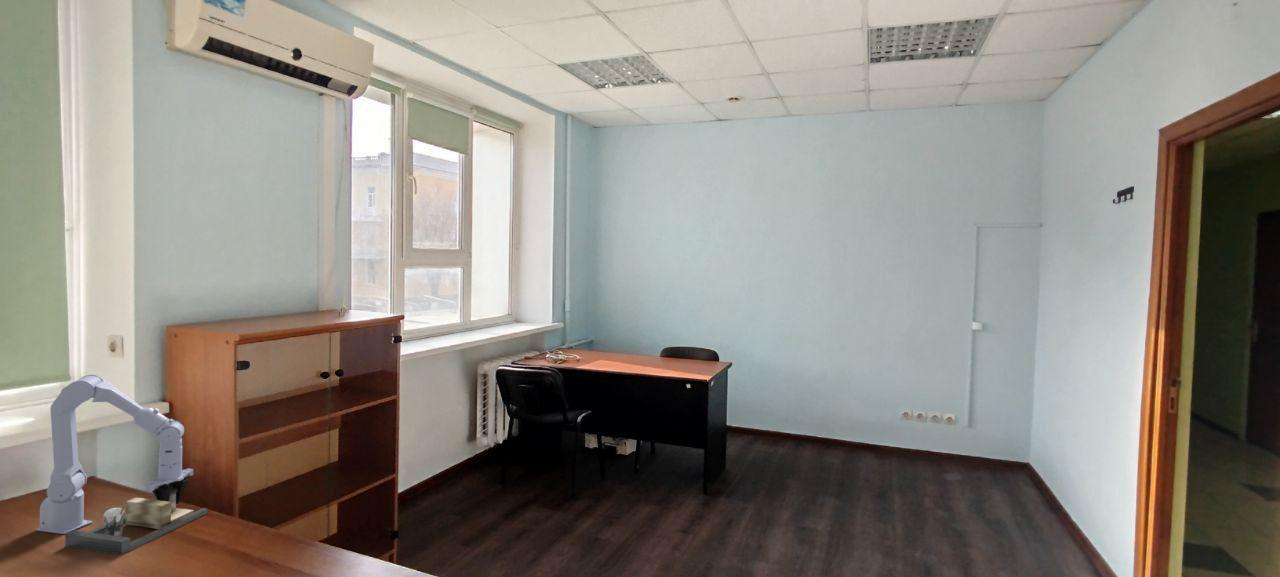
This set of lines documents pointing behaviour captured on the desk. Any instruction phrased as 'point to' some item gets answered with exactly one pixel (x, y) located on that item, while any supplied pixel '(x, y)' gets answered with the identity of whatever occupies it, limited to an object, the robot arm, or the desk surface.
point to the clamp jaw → (154, 511)
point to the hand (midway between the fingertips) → (169, 505)
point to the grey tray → (120, 544)
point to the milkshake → (114, 521)
